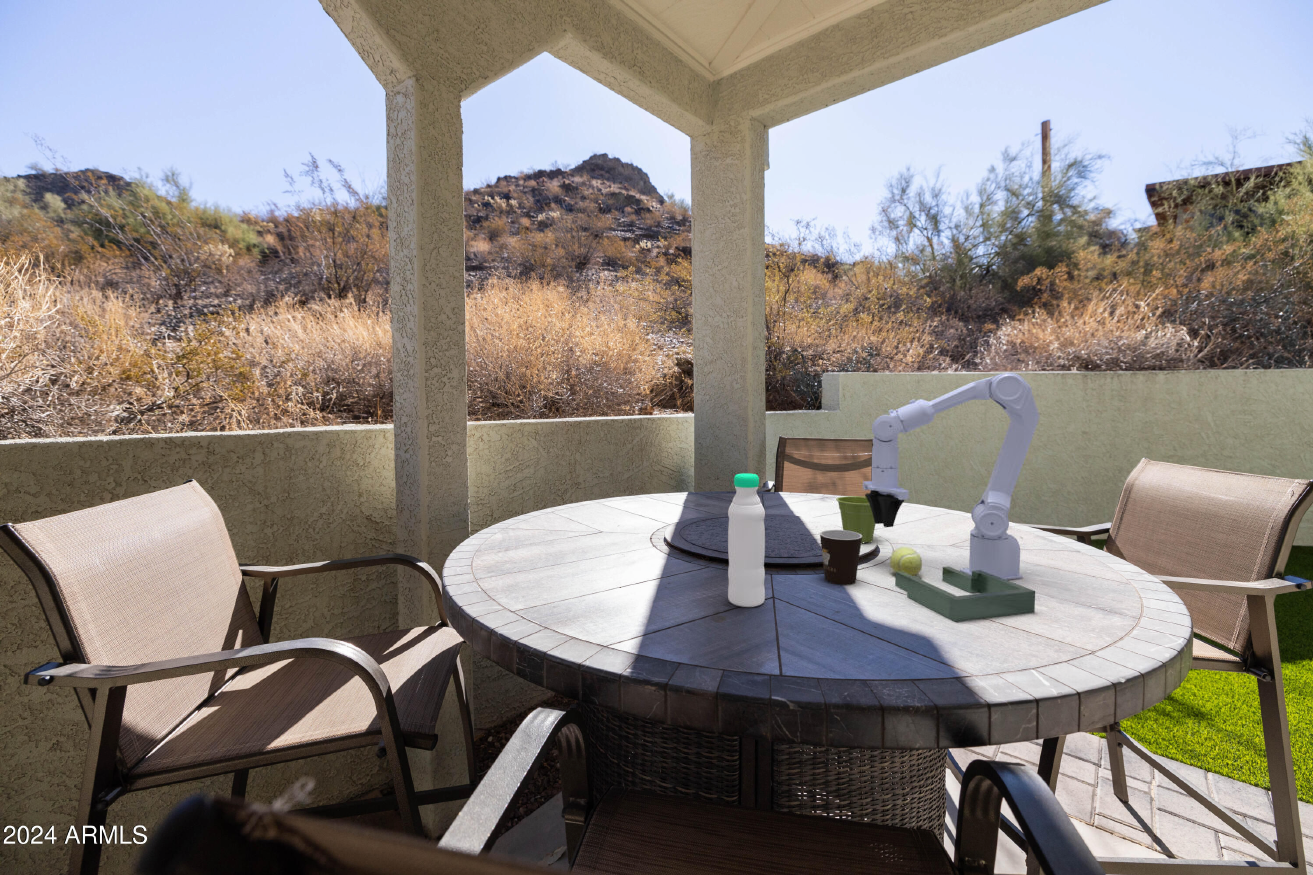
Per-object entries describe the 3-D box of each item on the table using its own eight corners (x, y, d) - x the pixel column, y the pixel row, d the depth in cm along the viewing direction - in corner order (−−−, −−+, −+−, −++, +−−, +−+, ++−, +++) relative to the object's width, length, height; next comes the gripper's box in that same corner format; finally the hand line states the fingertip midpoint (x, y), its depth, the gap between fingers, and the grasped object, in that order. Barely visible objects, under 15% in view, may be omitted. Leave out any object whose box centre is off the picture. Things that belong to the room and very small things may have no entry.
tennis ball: (926, 549, 125) (910, 541, 132) (896, 554, 125) (882, 546, 131) (929, 577, 126) (913, 568, 132) (900, 583, 125) (885, 573, 132)
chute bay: (956, 579, 126) (956, 561, 125) (1034, 612, 107) (1035, 590, 106) (886, 586, 122) (887, 567, 121) (955, 621, 103) (955, 599, 102)
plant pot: (888, 546, 153) (889, 503, 152) (843, 546, 153) (843, 504, 152) (872, 535, 164) (873, 495, 164) (830, 535, 165) (830, 495, 164)
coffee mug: (864, 587, 121) (864, 540, 120) (820, 585, 122) (821, 538, 122) (856, 570, 132) (857, 527, 131) (817, 568, 134) (817, 526, 133)
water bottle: (767, 597, 116) (767, 472, 114) (761, 609, 109) (762, 477, 107) (732, 593, 118) (732, 471, 116) (724, 605, 112) (724, 476, 110)
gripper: (851, 464, 141) (851, 519, 142) (889, 471, 127) (888, 533, 128) (877, 462, 143) (876, 517, 144) (917, 470, 129) (915, 531, 130)
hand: (883, 525), depth 136 cm, fingers open, 3 cm apart
